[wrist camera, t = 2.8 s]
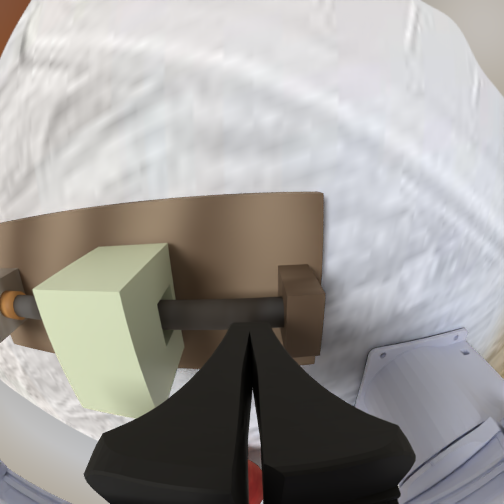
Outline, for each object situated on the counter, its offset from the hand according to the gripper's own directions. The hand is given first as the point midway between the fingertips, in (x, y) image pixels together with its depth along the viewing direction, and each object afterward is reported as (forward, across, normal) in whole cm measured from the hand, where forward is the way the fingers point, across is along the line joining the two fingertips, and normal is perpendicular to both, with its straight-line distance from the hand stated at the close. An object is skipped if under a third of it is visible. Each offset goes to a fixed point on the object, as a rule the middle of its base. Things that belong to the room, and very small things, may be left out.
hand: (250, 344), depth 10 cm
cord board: (+5, +8, 0) cm, 10 cm away
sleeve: (+4, +6, 0) cm, 7 cm away
